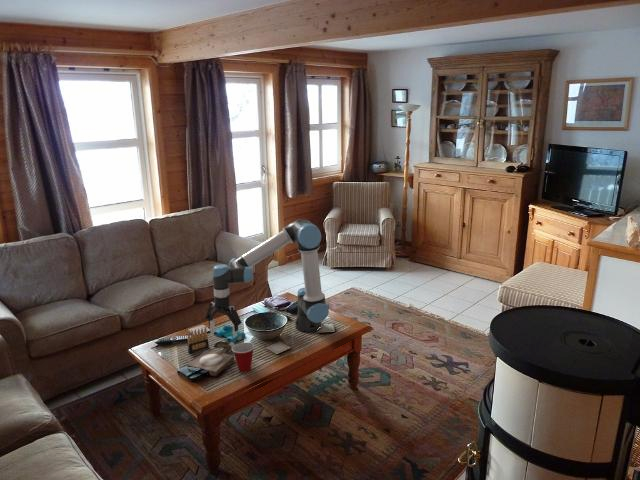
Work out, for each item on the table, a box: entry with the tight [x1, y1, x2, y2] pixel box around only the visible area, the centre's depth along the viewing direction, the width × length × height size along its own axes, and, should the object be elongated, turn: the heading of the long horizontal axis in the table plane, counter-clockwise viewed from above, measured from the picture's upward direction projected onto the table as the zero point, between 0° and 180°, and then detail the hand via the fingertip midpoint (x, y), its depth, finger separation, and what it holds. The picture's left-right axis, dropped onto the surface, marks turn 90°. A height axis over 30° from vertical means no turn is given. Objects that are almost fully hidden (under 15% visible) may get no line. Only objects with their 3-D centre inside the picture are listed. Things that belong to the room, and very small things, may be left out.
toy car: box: [213, 325, 246, 344], centre depth 264 cm, size 11×18×7 cm, turn 50°
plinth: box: [187, 349, 235, 377], centre depth 235 cm, size 16×16×3 cm
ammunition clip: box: [187, 326, 210, 354], centre depth 248 cm, size 11×2×12 cm, turn 123°
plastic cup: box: [231, 342, 255, 373], centre depth 229 cm, size 11×11×12 cm
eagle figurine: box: [213, 340, 235, 354], centre depth 246 cm, size 8×7×9 cm
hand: (223, 334), depth 245 cm, fingers open, 13 cm apart
